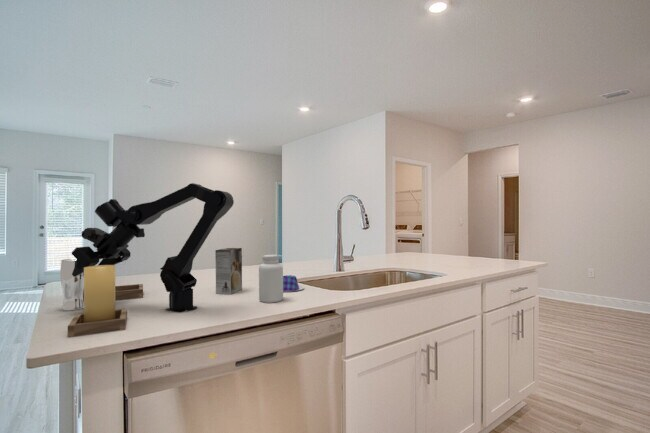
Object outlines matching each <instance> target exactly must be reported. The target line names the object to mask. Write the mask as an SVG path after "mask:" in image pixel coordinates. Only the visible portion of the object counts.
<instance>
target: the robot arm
mask: <svg viewBox="0 0 650 433" xmlns="http://www.w3.org/2000/svg"><path fill="white" fill-rule="evenodd" d="M195 199H197V200H199V201H201V202H203V203H204V205H203V212H202V215H201V217H200V219H199V220H198V221H197V223H196V225H195V227H194V228H193V230H192V231H191V233H190V235H189V236H188V238H187V239H186V241H185V243H184V244H183V245H182V248H181V250H180V251H179V253H178V254H177V255H174V256H169V257H167V258H166V260H165V262H164V264H163V266H162V267H160V274H159V276H160V280H161V282H162V283H163V285H164V288H165V291H166V292H167V293H169V296H168V306H169V307H168V308H165V311H168V312H175V313H183V312H188V311H192V310H195V309H198V306H196V305H194V287H196V284H197V281H198V280H197V278H195V277H194V275H193V274H192V273H191V272H192V268H193V262H194V260H195V257H197V254H198V253H199V251H200V249H201V248H202V246H203V245H204V243H205V242H206V240H207V238H208V236H209V235H210V233H212V232H211V231H212V230H213V228H215V226H216V223H217V222H218V221H219V220H221V218H223V217H224V216H225V215H226V214H227V213H228V212H229V210H231V209H232V208H233V205H234V203H235V202H234V197H233V196H232V194H231V193H230V192H227V191H223V190H220V189H218V190H217V189H216V190H214V189H210V188H208V187H205V186H202V185H201V184H199V183H193V182H192V183H189V184H187V186H185V187H182V188H180V189H177V190H176V191H173V192H171V193H169V194H167V195H165V196H162V197H161V198H158V199H156V200H154V201H150V202H144V203H140V204H134V205H132V206H130V207H129V208H128V209H124V208H123V207H122V206H121V204H120V202H119V201H118V200H117V199H114V198H110V199H109V200H108V201H106V202H104V203H101V204H100V205H98V206H97V207H96V208H95V210H94V213H95V214H96V215H97V217H99V218H100V219H101V221H102V222H104V224H105V225H106V226H107V227H111V228H112V227H113V230H112V231H110V233H109V232H107V231H104V230H103V229H101V228H98V227H87V228H85V229H84V230H83V231H81V235H80V236H81V237H82V238H83V239H84V240H88V241H90V242H91V243H93V244H92V246H93V247H94V248H96V251H94V250H93V249H92V248H91V246H79V247H75V248H74V249H73V250H72V251H71V255H72V256H73V257H74V259H75V258H76V259H77V262H76V265H75V268H74V270H73V273H72V275H73V276H74V277H75V276H78V275H80V274H82V273H84V267H89V266H97V265H115V266H116V265H118V264H121V263H124V261H127V260H129V258H130V257H131V252H130V250H129V249H128V248H129V243H130V242H131V241H132V240H133V239H134V238H144V237H145V228H143V227H142V228H141V227H140V225H142V226H143V225H150V224H153V223H155V221H157V220H159V219H160V218H161V216H162V215H163V214H165V213H167V212H169V211H171V210H173V209H175V208H177V207H179V206H182V205H184V204H187V203H188V202H191V201H193V200H195Z"/></svg>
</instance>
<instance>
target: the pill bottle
mask: <svg viewBox="0 0 650 433" xmlns="http://www.w3.org/2000/svg"><path fill="white" fill-rule="evenodd" d="M279 257H280V256H279V254H265V255H262V262H263V263H261V264H260V265H259V266H258V300H259V302H261V303H266V304H267V303H268V304H271V303H279V302H281V301H283V300H284V292H283V276H284V271H283V270H284V268H283V267H284V266H283V264H282V263H279V261H280V260H279Z"/></svg>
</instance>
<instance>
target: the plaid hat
mask: <svg viewBox="0 0 650 433" xmlns="http://www.w3.org/2000/svg"><path fill="white" fill-rule="evenodd" d="M304 289H305V287H304V286H302V285H299V282H298V279H297V276H296V275H292V274H289V275H287V274H286V275H283V293H284V292H286V293H289V292H296V291H297V292H298V291H301V290H304Z"/></svg>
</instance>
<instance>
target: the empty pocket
mask: <svg viewBox="0 0 650 433" xmlns="http://www.w3.org/2000/svg"><path fill="white" fill-rule="evenodd" d="M143 298H144V283H140V284H139V283H137V284H127V285H125V284H124V285H115V301H123V300H133V299H143Z"/></svg>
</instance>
